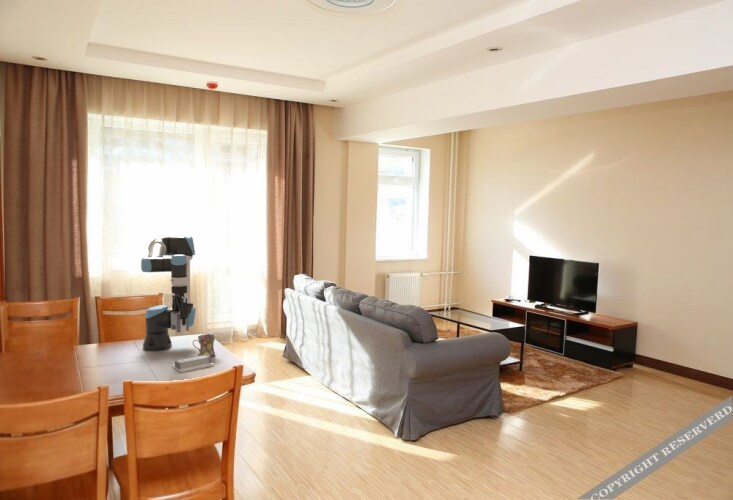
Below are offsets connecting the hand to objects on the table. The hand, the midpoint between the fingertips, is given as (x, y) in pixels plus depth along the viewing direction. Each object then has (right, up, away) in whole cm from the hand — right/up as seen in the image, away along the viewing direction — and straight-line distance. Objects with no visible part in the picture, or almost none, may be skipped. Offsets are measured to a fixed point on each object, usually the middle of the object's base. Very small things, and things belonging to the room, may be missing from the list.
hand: (180, 329), depth 265 cm
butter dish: (+7, -18, -2) cm, 20 cm away
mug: (+7, -17, +17) cm, 25 cm away
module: (0, 0, 0) cm, 0 cm away
